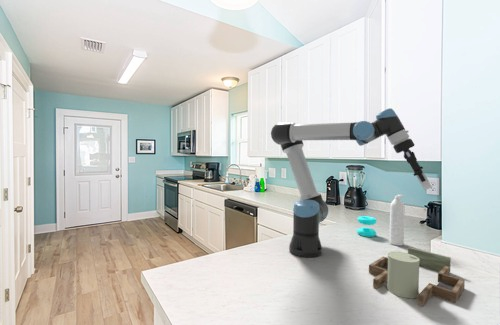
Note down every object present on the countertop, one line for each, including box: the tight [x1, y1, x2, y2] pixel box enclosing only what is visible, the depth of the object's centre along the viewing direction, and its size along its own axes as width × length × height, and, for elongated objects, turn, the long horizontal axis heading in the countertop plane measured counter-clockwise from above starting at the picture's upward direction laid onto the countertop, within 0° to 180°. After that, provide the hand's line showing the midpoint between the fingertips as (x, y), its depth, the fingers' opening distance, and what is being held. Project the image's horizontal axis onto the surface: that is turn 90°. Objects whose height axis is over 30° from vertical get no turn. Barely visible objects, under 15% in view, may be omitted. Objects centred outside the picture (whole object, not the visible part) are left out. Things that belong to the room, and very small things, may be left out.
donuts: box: [356, 215, 377, 238], centre depth 147 cm, size 10×10×10 cm
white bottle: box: [388, 194, 406, 246], centre depth 132 cm, size 9×6×25 cm
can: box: [386, 251, 420, 299], centre depth 85 cm, size 9×9×12 cm
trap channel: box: [368, 246, 465, 307], centre depth 93 cm, size 35×26×6 cm
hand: (427, 186), depth 107 cm, fingers open, 13 cm apart
